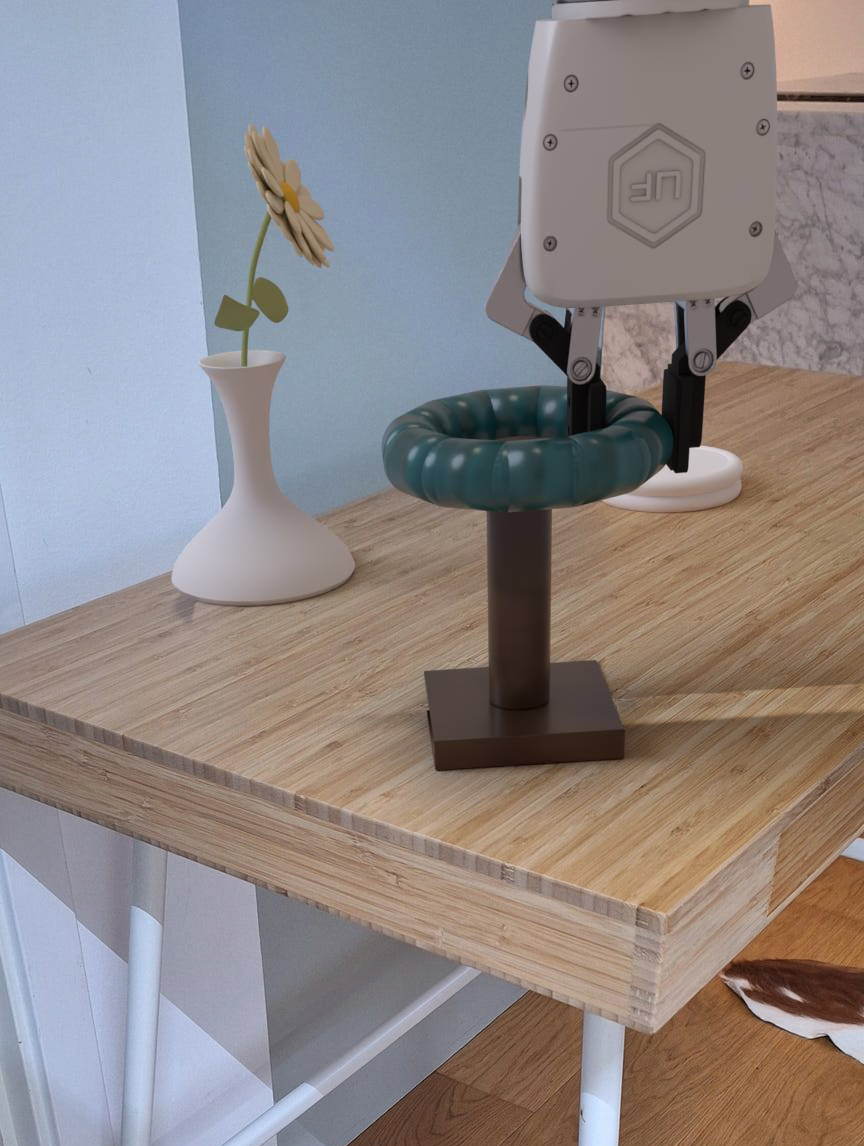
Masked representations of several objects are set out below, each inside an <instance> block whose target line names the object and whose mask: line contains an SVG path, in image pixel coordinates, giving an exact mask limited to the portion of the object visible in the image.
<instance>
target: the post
mask: <svg viewBox="0 0 864 1146" xmlns="http://www.w3.org/2000/svg"><path fill="white" fill-rule="evenodd" d="M531 439H545V438H541V437H533V436H515V437H506V438H500V439H497V440H495V441H518V440H531ZM552 542H553V509H548V510H534V511H521V512H492V511H486V562H487V563H486V576H487V577H486V578H487V581H486V582H487V642H488V643H487V645H488V647H487V651H488V653H487V655H488V657H487V659H488V663H487V664H488V666H480V667H478V666H477V667H465V668H464V667H463V668H451V669H450V668H447V669H446V668H445V669H433V670H431V669H430V670H423V678H424V684H425V691H426V698H427V706H428V709H426V715H427V716H426V717H427V721H428V722H427V723H428V730H429V737H430V745H431V750H432V751H431V752H432V758H433V764H434V770H435V771H445V770H461V769H473V768H474V769H475V768H476V769H477V768H478V769H479V768H491V767H508V766H509V767H510V766H525V765H538V764H539V765H540V764H541V765H542V764H556V763H569V762H570V763H571V762H573V763H574V762H587V761H602V760H603V761H604V760H619V759H624V757H625V740H626V739H625V737H626V736H625V735H626V729H625V726H624V724H623V722H622V719H621V716H620V715H619V712H618V710H617V707H616V704H615V703H614V700H613V697H612V695H611V693H610V690H609V687H608V686H607V683H606V680H605V678H604V676H603V674H602V671H601V669H600V666H599V664H598V661H597V659H591V660H590V659H589V660H588V659H587V660H574V661H557V662H556V661H555V662H551V640H552V639H551V633H552V632H551V631H552V630H551V628H552V623H551V622H552V555H553V554H552V552H553V549H552V548H553V547H552V546H553V543H552Z"/></svg>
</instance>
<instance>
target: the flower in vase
mask: <svg viewBox="0 0 864 1146" xmlns="http://www.w3.org/2000/svg"><path fill="white" fill-rule="evenodd" d="M247 128H248V129H247V130H248V132H245V133H244V142H245V145H244V146H243V149H244V153H245V156H246V158H247V161H248V162H247V166H248V169H249V172H250V174H251V176H252V178H253V180H254V181H255V186H256V188H257V190H258V192H259V194H260V197H261V198H262V200H263V201H264V203H266V213H265V215H264V218H263V221H262V223H261V225H260V226H261V227H260V229H259V232H258V236H257V239H256V243H255V245H254V249H253V252H252V256H251V261H250V265H249V272H248V280H247V289H246V296H245V297H246V298H245V304H244V303H241V302H239V301H237V300H235V299H233V298H232V297H230V296H229V295H227V294H223V297H222V299H221V302H220V306H219V308H218V311H217V314H216V317H215V319H214V321H213V324H214V326H215V327H217V328H220V329H225V330H230V331H234V332H242V337H241V350H233V351H226V352H220V353H215V354H211V355H208V356H204V357H203V358H201V359H199V360H198V365H199V367H200V369H202V371H203V372H204V373H205V374H206V376H207V377H208V378H209V380H210V381H211V383H212V384H213V386H214V388H215V390H216V392H217V394H218V396H219V399H220V401H221V404H222V407H223V411H224V413H225V417H226V422H227V426H228V431H229V435H230V442H231V449H232V458H233V486H232V489H231V493H230V496H229V498H228V499H227V500H226V503H225V504H224V506H222V508H220V510H219V511H218V512H217V513H216V514H215V516H213V517H212V518H211V520H209V521H208V522H207V523H206V524H205V525H204V527H202V528H201V529H200V531H198V532H197V534H196V535H195V536H194V537H193V538H192V539H191V540H190V541H189V542H188V543H187V544H186V546H185V547H184V548H183V550H182V552H180V554H179V556H178V557H177V558H176V560H175V562H174V564H173V568H172V572H171V576H170V577H171V583H172V585H173V586H174V587H175V588H176V590H177V591H178V593H180V595H181V596H182V597H183V598H185V599H186V600H188V601H191V602H193V603H197V602H201V603H206V604H212V605H217V606H230V607H231V606H233V607H256V606H257V607H258V606H269V605H278V604H286V603H292V602H298V601H302V600H306V599H310V598H314V597H317V596H320V595H323V594H325V593H328V592H331V591H333V590H335V589H337V588H339V587H340V586H342V585H343V584H345V583H346V582H347V581H348V580H349V579H350V578H351V576H352V575H353V573H354V571H355V568H356V562H355V560H354V557H353V556H352V553H351V551H350V549H349V547H348V546H347V545H346V544H345V543H344V542H343V541H342V540H341V539H340V538H339V537H338V536H337V535H336V534H335V533H334V532H333V531H331V530H330V529H329V528H328V527H326V526H325V525H323V524H322V523H321V522H319V521H318V520H317V519H315V518H314V517H312V516H310V515H309V514H308V513H307V512H306V511H303V510H302V509H301V508H300V507H298V506H297V505H296V504H294V503H293V502H292V501H291V500H290V499H288V498H287V497H286V495H285V494H284V493H283V492H282V491H281V489H280V487H279V485H278V483H277V481H276V477H275V473H274V470H273V462H272V454H271V440H270V439H271V438H270V415H271V414H270V413H271V405H272V403H271V402H272V394H273V391H274V387H275V384H276V383H275V382H276V380H277V377H278V375H279V372H280V370H281V368H282V367H283V365H284V363H285V361H286V359H287V355H286V354H285V353H284V352H281V351H276V350H270V349H269V350H268V349H249V334H250V328H251V327H252V326H253V325H254V324H255V322H256V321H257V319H258V318H259V316H260V314H261V313H262V314H263V316H265V317H266V318H267V319H268V321H271V322H272V323H274V324H278V323H281V322H282V321H284V320H285V318H286V317H287V316H288V313H289V304H288V302H287V299H286V297H285V295H284V292H283V291H282V290H281V288H280V287H279V286H278V285H276V284H275V283H274V282H273V281H271V280H270V279H268V278H266V277H263V276H258V277H257V278H256V279H255V277H256V270H257V266H258V261H259V258H260V254H261V251H262V247H263V245H264V240H265V238H266V234H267V231H268V229H269V226H270V224H271V221H273V222H274V223H275V225H276V226H277V227H278V229H279V231H280V232H281V234H282V235H283V236H284V238H285V239H286V240H287V241H288V242H289V244H290V246H291V247H292V249H293V250H294V252H295V253H296V254H297V255H298V256H299V257H300V258H304V259H305V260H306V262H308V264H309V265H311V266H314V265H315V266H316V267H317V268H319V269H323V266H324V267H326V268H330V262H329V260H328V259H327V257H326V255H325V251H326V250H327V251H329V252H332V253H333V252H335V246H334V244H333V242H332V240H331V239H330V238H329V235H328V232H327V231H326V230H325V228H324V227H323V226H322V225H320V224H319V222H317V221H321V220H322V221H323V220H324V218H325V212H324V210H323V207H321V206H322V205H320V204H319V202H317V201H316V200H315V199H312V196H311V193H310V191H309V189H308V188H307V187H306V186H305V185H304V184H301V182H302V181H301V180H302V172H301V169H300V167H299V164H298V163H297V162H296V160H295V159H293V158H289V159H288V160H287V161H286V162H285V161H283V160H281V155H280V151H279V147H278V144H277V142H276V141H275V139H274V137H273V134H272V132H271V130H270V129H269V128H268V126H266V125H263V127H262V129H261V130H262V131H261V132H262V133H261V134H259V133H258V131H257V128H256V127H255V125H253V124H252V123H249V124H248V127H247ZM253 302H254V303H255V305H256V307H257V309H256V308H254V307H252V303H253ZM258 309H259V310H258Z"/></svg>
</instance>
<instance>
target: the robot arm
mask: <svg viewBox="0 0 864 1146" xmlns="http://www.w3.org/2000/svg"><path fill="white" fill-rule="evenodd" d="M553 1H554V2H555V3H551V18H545V19H539V20H538V19H537V20H536V21H535V24H534V30H533V35H532V40H531V45H530V46H531V47H530V54H529V58H528V59H529V60H528V66H527V75H526V85H525V96H524V105H523V114H522V125H521V138H520V152H519V153H520V154H519V177H518V195H517V196H518V197H517V198H518V201H517V227H516V229H515V231H514V234H513V236H512V238H511V241H510V243H509V245H508V247H507V249H506V251H505V253H504V256H503V258H502V260H501V262H500V265H499V266H498V269H497V270H496V273H495V275H494V277H493V280H492V282H491V284H490V286H489V287H488V290H487V293H486V295H485V297H484V300H483V303H482V304H483V310H484V312H485V314H486V315H487V318H488V319H490V320H491V321H492V322H494V323H495V324H497V325H500V326H502V327H503V328H505V329H507V330H509V331H511V332H513V333H514V334H517V335H519V336H520V337H523V338H525V339H527V340H528V341H531V342H533V343H534V344H535V345H536V346H537V347H538V348H539V349H540V350H541V351H542V352H543V354H545V355H546V356H547V358H549V359H550V360H551V361H552V363H554V365H556V366H557V368H558V369H559V370H560V371H561V372H562V373H564V374H565V376H566V386H567V428H566V437H568V436H572V435H577V434H581V433H585V432H590V431H594V430H598V429H603V428H606V396H607V390H608V389H607V385H606V383H605V381H603V379H602V378H601V366H600V365H599V363H598V362H597V359H598V351H599V342H600V335H601V334H600V333H601V328H602V327H601V325H602V317H603V309H604V307H617V306H618V307H619V306H635V305H647V304H648V305H649V304H661V303H662V304H663V303H673V314H674V330H675V331H674V332H675V350H674V351H673V352H672V353H671V362H670V363H667V368H664V369H663V375H662V392H661V394H662V395H661V396H662V397H661V413H660V414H661V415H662V416H663V418H664V419H665V420H666V421H667V423H668V424H669V426H670V428H671V430H672V434H673V443H674V444H673V451H672V454H671V457H670V459H669V461H668V462H667V464H666V465H667V466H668V468H669V469H670V470H671V471H672V470H673V471H674V472H675V473H687V472H688V466H689V449H690V448H696V447H700V445H702V441H703V429H704V428H703V427H704V412H705V410H704V409H705V395H706V382H707V381H706V379H707V375H709V374H710V373H711V372H713V370H714V369H715V367H716V365H717V361H718V360H719V358H721V357H722V356H723V354H724V353H726V351H727V350H728V349H729V348H730V347H731V346H732V345H733V343H734V342H736V340H737V339H739V337H740V336H741V335H742V334H743V333H744V331H746V330H747V328H748V327H749V326H750V324H752V323H754V322H755V321H757V320H760V319H761V318H763V317H765V316H767V315H768V314H769V313H771V312H773V311H774V310H775V309H777V308H779V307H781V306H782V305H784V304H785V303H786V302H788V301H790V300H791V299H792V298H793V297H794V296H795V294H796V293H797V289H798V284H797V280H796V277H795V275H794V272H793V271H792V268H791V266H790V263H789V261H788V258H787V255H786V253H785V251H784V249H783V246H782V243H781V241H780V238H779V237H778V234H777V232H776V211H777V175H778V174H777V173H778V172H777V169H778V168H777V167H778V165H777V164H778V89H777V85H778V84H777V60H776V42H775V40H776V39H775V30H774V20H773V13H772V12H773V11H772V5H771V4H768V3H767V4H750V0H553ZM526 288H527V289H528V290H529V291H530V293H531V294H532V295H533V296H534V298H536V299H537V300H539V301H540V302H542V303H544V304H545V305H549V306H552V307H555V308H561V309H562V308H564V309H563V319H562V324H561V323H560V322H559V321H558V320H557V319H556V318H555V317H554V316H553V315H552V313H551V312H550V311H548V310H545V309H543V308H541V307H539V306H538V305H535V304H533V303H532V302H530V301H529V300H527V299H526V297H525V291H526ZM715 299H721V300H719V302H718V303H717V304H716V300H715Z"/></svg>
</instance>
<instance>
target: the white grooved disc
mask: <svg viewBox="0 0 864 1146" xmlns="http://www.w3.org/2000/svg"><path fill="white" fill-rule="evenodd" d="M743 472H744V465H743V461H742V460H741V459H740V458H739V457H738V456H737V455H736V454H735V453H733V452H731V451H729V450H726V449H722V448H718V447H714V446H708V445H702V444H701V445H700V447H696V448H690V449H689V466H688V472H687V473H675V472H674V471H673V470H672V471H671V470H670V469H669V468H668V466H667V465H665V466H664V467H663V469H662V470H660V471H659V472H658V473H657V474H655V475H654V476H653V477H652V478H650V479H649V480H648V481H646V482H645V483H644V484H643V485H641V486H640V487H639V488H637V489H636V490H634V491H632V492H630V493H628V494H624V495H620V496H616V497H613V498H609V499H605V500H601V501H600V502H602V503H604V504H605V505H608V506H611V507H615V508H618V509H622V510H627V511H634V512H643V513H657V514H659V513H661V514H665V513H666V514H667V513H668V514H669V513H673V514H674V513H687V512H688V513H689V512H697V511H704V510H709V509H713V508H717V507H720V506H723V505H727V504H728V503H730V502H732V501H734V500H735V499H737V497H738V496H739V495H740V494H741V490H742V488H743V484H742V480H741V477H742V475H743Z"/></svg>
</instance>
